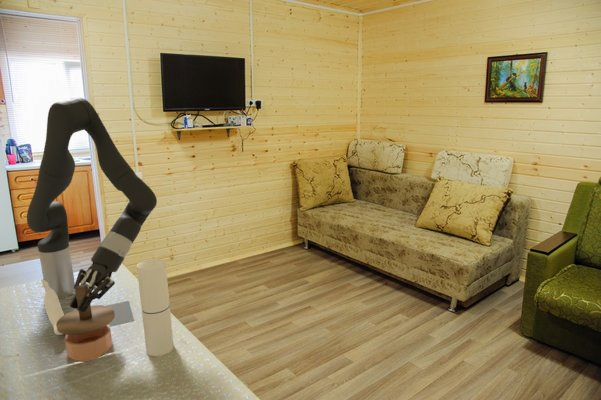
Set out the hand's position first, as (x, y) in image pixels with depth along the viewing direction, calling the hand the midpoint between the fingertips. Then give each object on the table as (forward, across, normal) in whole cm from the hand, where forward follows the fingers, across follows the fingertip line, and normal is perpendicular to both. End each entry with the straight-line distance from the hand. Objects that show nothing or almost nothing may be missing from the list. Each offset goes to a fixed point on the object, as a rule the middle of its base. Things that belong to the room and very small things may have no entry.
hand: (76, 309), depth 110 cm
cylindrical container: (+1, +16, +18) cm, 24 cm away
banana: (+7, -18, +11) cm, 22 cm away
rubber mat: (-1, -12, +20) cm, 23 cm away
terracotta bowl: (+8, 0, +11) cm, 13 cm away
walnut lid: (+2, 0, +5) cm, 5 cm away
